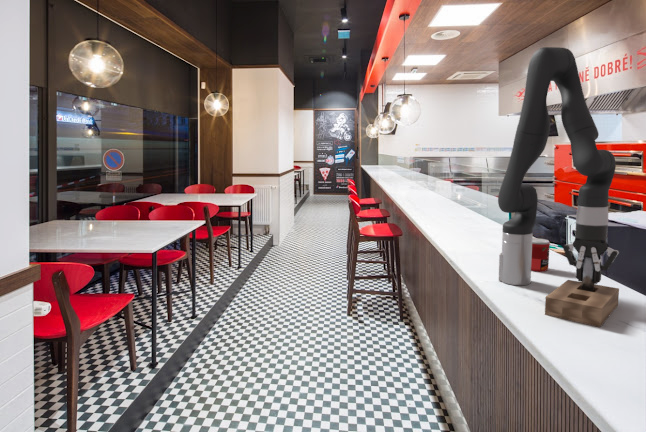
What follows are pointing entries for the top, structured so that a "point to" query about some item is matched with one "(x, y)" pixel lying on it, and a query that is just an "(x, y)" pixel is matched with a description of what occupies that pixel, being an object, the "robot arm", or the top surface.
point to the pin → (588, 274)
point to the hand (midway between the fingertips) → (588, 281)
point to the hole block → (582, 303)
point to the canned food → (540, 255)
